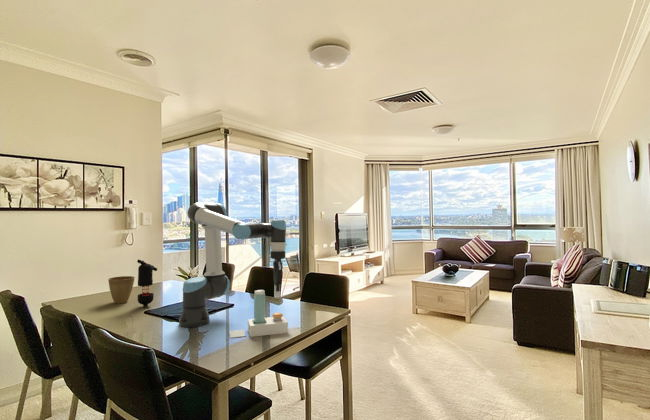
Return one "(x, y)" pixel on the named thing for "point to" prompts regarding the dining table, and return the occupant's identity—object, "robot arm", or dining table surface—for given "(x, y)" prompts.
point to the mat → (237, 333)
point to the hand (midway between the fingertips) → (277, 297)
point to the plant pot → (121, 288)
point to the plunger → (277, 316)
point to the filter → (145, 282)
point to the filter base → (267, 327)
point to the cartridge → (259, 307)
